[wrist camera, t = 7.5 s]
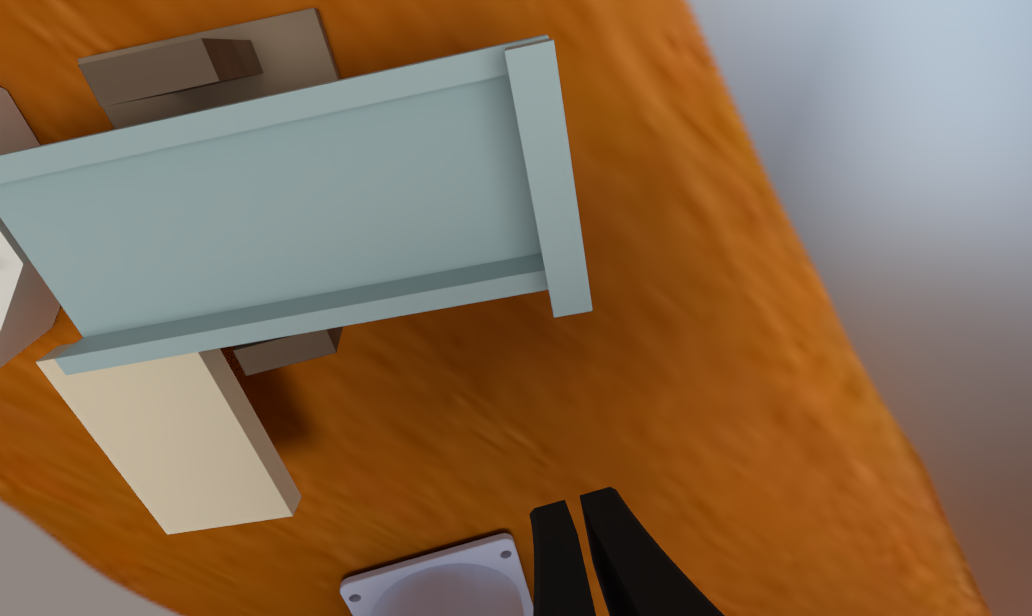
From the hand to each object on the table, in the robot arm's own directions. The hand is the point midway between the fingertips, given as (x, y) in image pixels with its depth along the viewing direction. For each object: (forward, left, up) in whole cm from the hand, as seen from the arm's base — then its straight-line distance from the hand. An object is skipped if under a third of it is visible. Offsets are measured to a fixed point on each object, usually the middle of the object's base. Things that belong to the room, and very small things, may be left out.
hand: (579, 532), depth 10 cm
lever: (+3, +5, -7) cm, 9 cm away
